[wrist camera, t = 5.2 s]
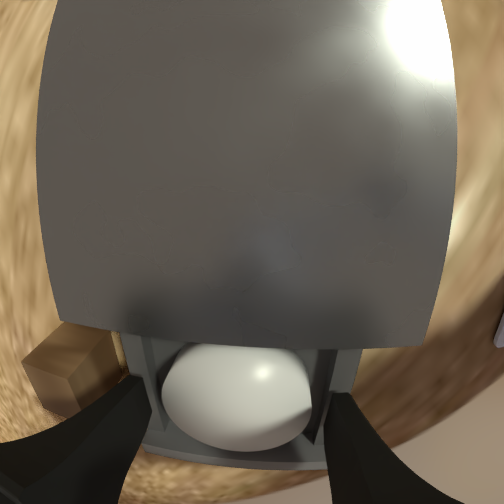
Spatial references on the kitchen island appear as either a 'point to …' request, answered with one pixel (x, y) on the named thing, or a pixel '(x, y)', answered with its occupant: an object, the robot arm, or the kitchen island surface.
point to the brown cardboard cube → (73, 368)
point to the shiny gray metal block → (248, 169)
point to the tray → (278, 458)
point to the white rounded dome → (238, 395)
